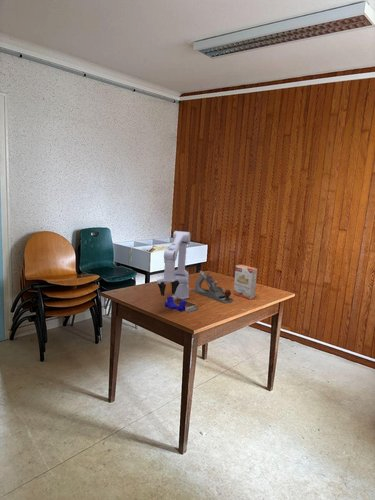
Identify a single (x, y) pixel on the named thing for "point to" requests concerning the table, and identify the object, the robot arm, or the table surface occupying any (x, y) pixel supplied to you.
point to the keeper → (190, 305)
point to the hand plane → (212, 289)
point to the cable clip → (172, 305)
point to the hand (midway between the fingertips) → (167, 294)
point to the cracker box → (245, 281)
